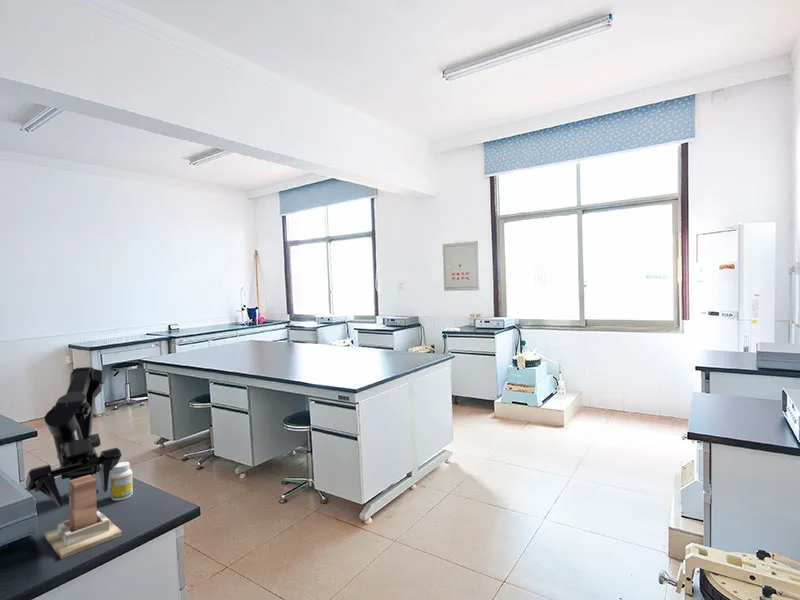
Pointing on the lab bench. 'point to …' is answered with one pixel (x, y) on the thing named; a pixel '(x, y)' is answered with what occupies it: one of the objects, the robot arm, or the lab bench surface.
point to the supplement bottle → (121, 482)
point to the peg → (82, 502)
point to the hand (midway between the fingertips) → (84, 498)
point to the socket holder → (81, 536)
